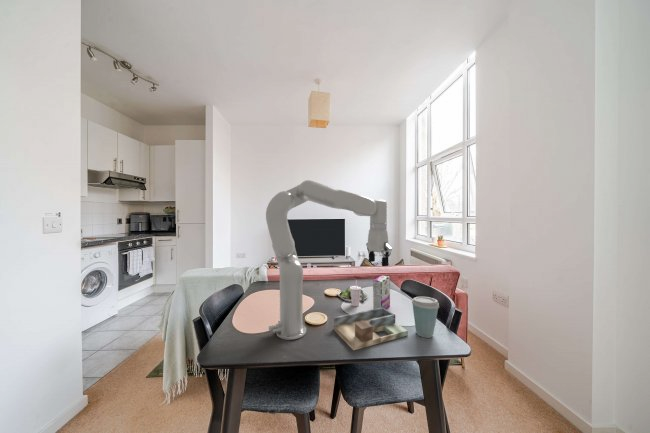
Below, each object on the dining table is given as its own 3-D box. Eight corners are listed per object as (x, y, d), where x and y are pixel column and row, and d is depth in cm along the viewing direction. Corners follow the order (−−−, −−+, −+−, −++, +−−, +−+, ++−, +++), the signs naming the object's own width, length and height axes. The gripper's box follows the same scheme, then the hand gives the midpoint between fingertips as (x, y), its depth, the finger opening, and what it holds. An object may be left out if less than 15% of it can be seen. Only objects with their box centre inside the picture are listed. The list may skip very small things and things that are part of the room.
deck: (353, 350, 87) (353, 335, 87) (333, 329, 102) (333, 316, 102) (407, 335, 97) (407, 322, 97) (382, 318, 113) (382, 306, 113)
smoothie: (358, 308, 124) (358, 282, 124) (347, 305, 128) (347, 280, 128) (363, 304, 130) (363, 279, 130) (352, 301, 133) (352, 277, 133)
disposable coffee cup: (405, 330, 101) (406, 296, 101) (424, 325, 105) (424, 292, 105) (425, 343, 91) (425, 305, 91) (445, 337, 96) (445, 301, 95)
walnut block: (361, 342, 89) (361, 329, 89) (355, 335, 94) (355, 323, 93) (372, 339, 91) (372, 326, 91) (365, 333, 96) (365, 320, 95)
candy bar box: (381, 304, 130) (381, 274, 129) (390, 306, 127) (390, 276, 126) (372, 311, 121) (372, 279, 120) (381, 313, 118) (381, 281, 117)
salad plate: (376, 301, 135) (376, 293, 135) (348, 306, 128) (348, 298, 128) (359, 290, 153) (359, 283, 153) (334, 294, 146) (334, 287, 146)
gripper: (360, 226, 114) (360, 260, 115) (384, 228, 99) (384, 268, 99) (373, 225, 118) (373, 259, 118) (397, 227, 102) (397, 266, 102)
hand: (378, 263), depth 109 cm, fingers open, 9 cm apart
